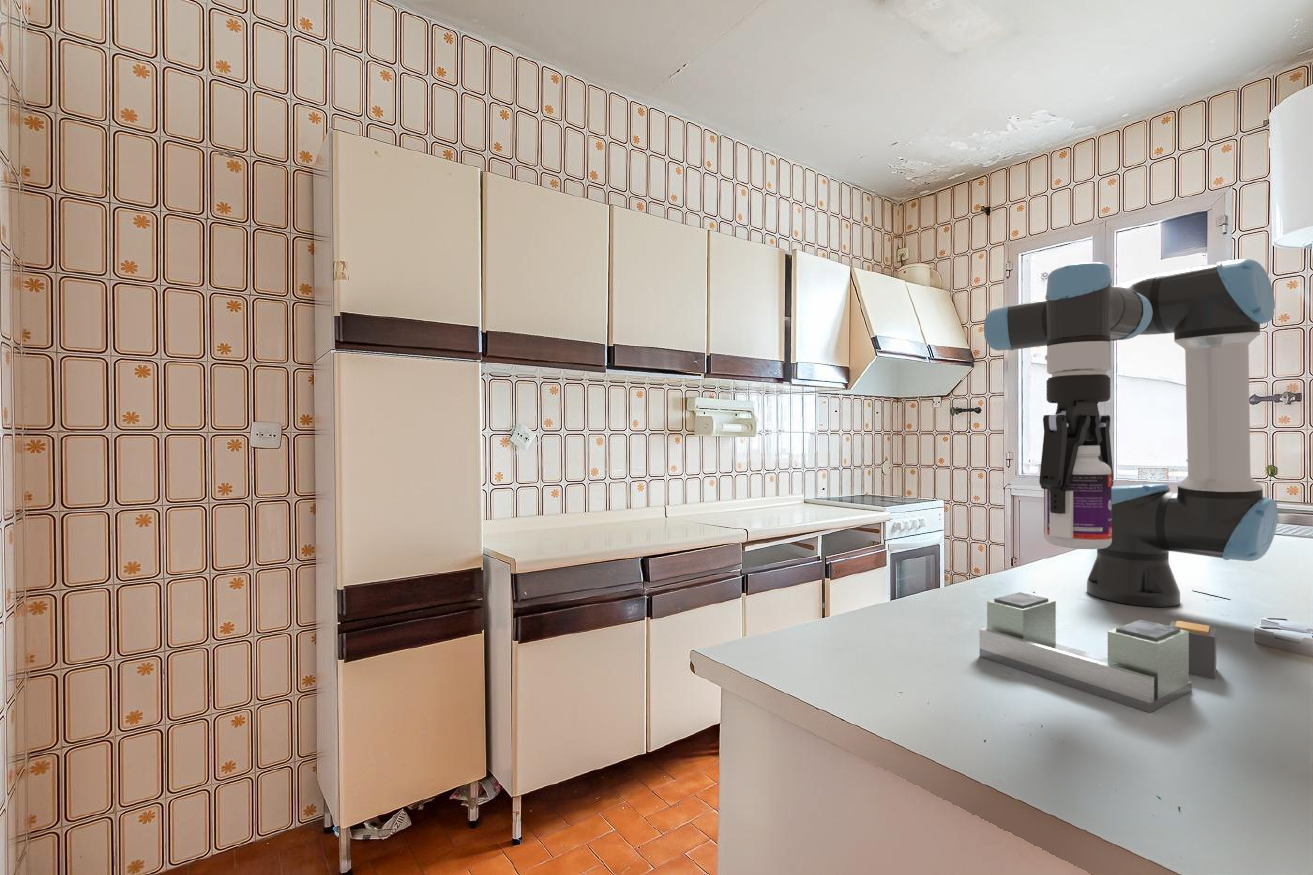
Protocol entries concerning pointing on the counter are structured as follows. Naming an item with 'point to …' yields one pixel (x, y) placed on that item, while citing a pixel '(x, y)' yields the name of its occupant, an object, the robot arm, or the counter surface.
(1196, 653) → the block
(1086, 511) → the pill bottle
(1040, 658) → the rail plate
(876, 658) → the counter surface
